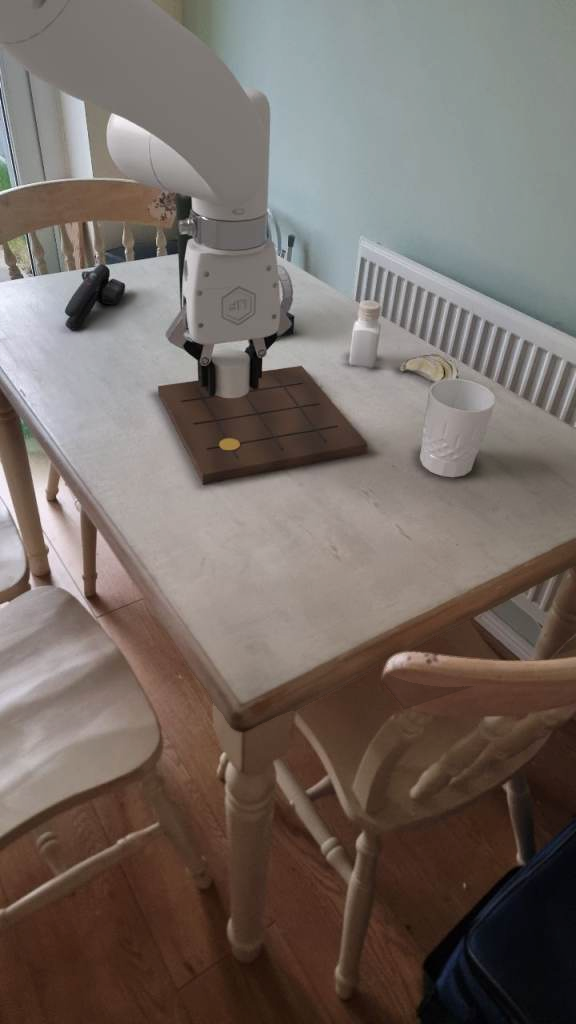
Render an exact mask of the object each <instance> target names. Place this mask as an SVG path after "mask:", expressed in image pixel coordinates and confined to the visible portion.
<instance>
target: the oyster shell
mask: <svg viewBox="0 0 576 1024" xmlns="http://www.w3.org/2000/svg"><path fill="white" fill-rule="evenodd" d="M399 371H401V372H403V373H405V372H411V373H415V374H417V375H419V376H421V377H423V378H425V379H427V380H428V381H430V382H432V383H433V384H434V383H435V382H437V381H440V380H444V379H459V375H458V373H459V369H458V367H457V365H456V362H455V361H453V360H451V359H449V358H447V357H446V356H442V355H440V354H422V355H420V356H416V357H412V358H410V359H407V360H404V361H403V362H402V363H401V365H400V367H399Z"/></svg>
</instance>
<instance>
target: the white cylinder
mask: <svg viewBox="0 0 576 1024" xmlns="http://www.w3.org/2000/svg"><path fill="white" fill-rule="evenodd" d="M211 358H212V362H213V364H214V365H215V387H216V394H215V395H217V396H220V397H223V398H238V397H242V396H244V395H246V394H247V393H248V392H249V390H250V356H249V355H248V354H247V353H246V352H245V350H244V351H243V350H241V349H238V348H237V349H236V348H223V349H218V350H215V351H213V352H212V357H211Z"/></svg>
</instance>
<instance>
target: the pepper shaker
mask: <svg viewBox="0 0 576 1024" xmlns="http://www.w3.org/2000/svg"><path fill="white" fill-rule="evenodd" d="M381 307H382V306H381V303H380V302H379V301H375V300H370V299H369V300H366V299H365V300H361V301H360V302H359V305H358V312H357V317H358V318H357V320H355V321H354V324H353V327H352V334H351V335H352V336H351V343H350V352H349V359H348V362H349V365H351V366H356V367H364V368H373V367H374V366H375V365H376V361H377V356H378V349H379V343H380V336H381V328H382V324H381V323H379V319H380V314H381V310H382V309H381Z"/></svg>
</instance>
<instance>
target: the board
mask: <svg viewBox="0 0 576 1024" xmlns="http://www.w3.org/2000/svg"><path fill="white" fill-rule="evenodd" d="M157 392H158V393H157V394H158V397H159V399H160V401H161V403H162V405H163V407H164V409H165V411H166V413H167V415H168V417H169V419H170V421H171V424H172V425H173V427H174V429H175V431H176V433H177V435H178V437H179V440H180V441H181V443H182V445H183V447H184V449H185V451H186V453H187V456H188V458H189V459H190V461H191V464H192V466H193V468H194V470H195V471H196V473H197V475H198V478H199V480H200V481H201V484H202V485H208V484H213V483H218V482H224V481H229V480H235V479H240V478H244V477H250V476H255V475H260V474H261V475H262V474H265V473H270V472H276V471H281V470H286V469H292V468H295V467H301V466H307V465H312V464H318V463H323V462H327V461H334V460H339V459H344V458H349V457H354V456H359V455H364V454H367V450H368V442H367V441H366V440H365V439H364V437H362V435H361V434H360V433H359V431H358V430H357V429H356V428H355V427H354V426H353V425H352V423H351V422H350V421H349V420H348V418H347V417H346V416H345V415H344V413H342V411H341V410H340V409H339V408H338V407H337V406H336V405H335V404H334V402H333V401H332V399H331V398H330V397H329V396H328V395H327V394H326V393H325V391H324V390H323V389H322V388H321V387H320V386H319V384H318V383H317V382H316V381H315V380H314V379H313V377H312V376H311V375H310V374H309V373H308V371H307V370H306V369H305V368H304V366H303V365H296V366H290V367H283V368H275V369H269V370H268V369H267V370H262V378H259V387H258V389H252V388H251V387H250V390H249V392H248V393H247V394H246V395H244V396H242V397H238V398H223V397H220V396H217V395H215V394H214V396H209V395H208V393H207V392H206V390H205V388H204V387H201V386H200V385H199V381H198V379H197V380H192V381H185V382H183V381H182V382H177V383H170V384H164V385H158V386H157Z"/></svg>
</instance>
